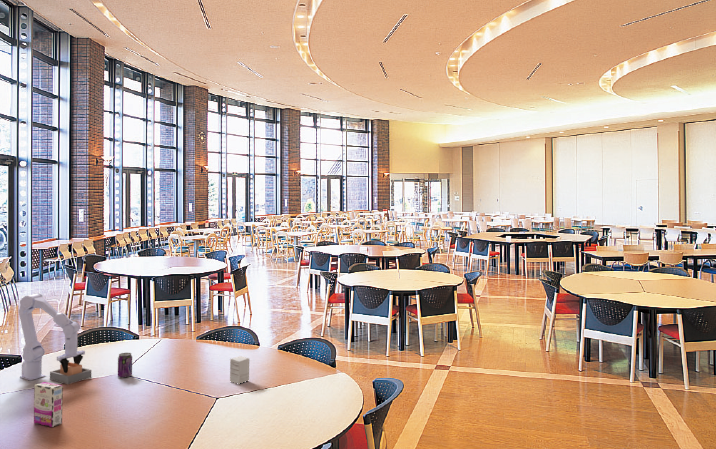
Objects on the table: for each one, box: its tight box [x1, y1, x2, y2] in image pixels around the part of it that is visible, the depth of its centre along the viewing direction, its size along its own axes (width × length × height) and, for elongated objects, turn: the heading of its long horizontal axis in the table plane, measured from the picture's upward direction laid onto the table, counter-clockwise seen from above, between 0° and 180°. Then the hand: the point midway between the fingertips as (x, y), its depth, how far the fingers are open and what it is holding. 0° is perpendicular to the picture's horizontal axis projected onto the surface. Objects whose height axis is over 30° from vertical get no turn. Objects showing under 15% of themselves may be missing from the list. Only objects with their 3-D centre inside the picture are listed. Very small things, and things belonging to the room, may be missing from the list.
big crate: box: [49, 367, 92, 385], centre depth 270 cm, size 15×13×4 cm
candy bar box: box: [33, 381, 64, 428], centre depth 215 cm, size 11×5×16 cm, turn 69°
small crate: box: [59, 361, 83, 376], centre depth 270 cm, size 10×5×5 cm, turn 63°
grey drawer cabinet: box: [229, 355, 250, 385], centre depth 273 cm, size 7×7×13 cm
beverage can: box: [117, 352, 133, 379], centre depth 276 cm, size 7×7×12 cm
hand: (70, 370), depth 270 cm, fingers closed on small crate, 5 cm apart
